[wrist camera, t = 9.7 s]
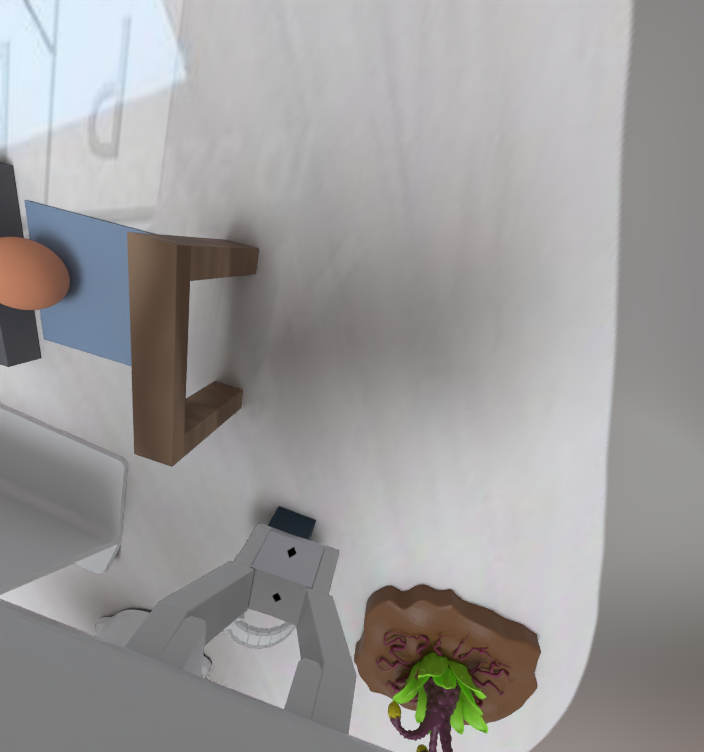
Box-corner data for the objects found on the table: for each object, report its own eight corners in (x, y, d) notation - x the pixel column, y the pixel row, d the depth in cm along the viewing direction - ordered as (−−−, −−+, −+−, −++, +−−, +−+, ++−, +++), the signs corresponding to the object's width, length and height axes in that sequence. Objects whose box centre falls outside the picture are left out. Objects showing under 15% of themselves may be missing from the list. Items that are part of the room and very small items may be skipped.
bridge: (258, 248, 26) (176, 245, 18) (240, 407, 32) (172, 466, 23) (224, 239, 27) (127, 232, 18) (213, 399, 32) (134, 453, 23)
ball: (20, 291, 32) (89, 305, 33) (-41, 311, 26) (43, 326, 27) (5, 225, 29) (80, 242, 30) (-67, 232, 24) (28, 253, 25)
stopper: (40, 358, 35) (8, 366, 32) (24, 353, 35) (-9, 361, 32) (12, 165, 28) (-32, 156, 25) (-8, 161, 28) (-54, 150, 25)
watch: (262, 499, 36) (200, 596, 26) (331, 526, 35) (295, 635, 25) (254, 535, 38) (194, 637, 28) (319, 560, 37) (281, 674, 27)
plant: (497, 718, 41) (523, 871, 31) (348, 668, 44) (327, 795, 33) (560, 617, 34) (621, 775, 24) (377, 563, 36) (360, 685, 26)
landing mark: (158, 373, 33) (157, 374, 32) (45, 338, 34) (43, 339, 34) (158, 235, 28) (157, 235, 27) (27, 200, 29) (24, 200, 29)
